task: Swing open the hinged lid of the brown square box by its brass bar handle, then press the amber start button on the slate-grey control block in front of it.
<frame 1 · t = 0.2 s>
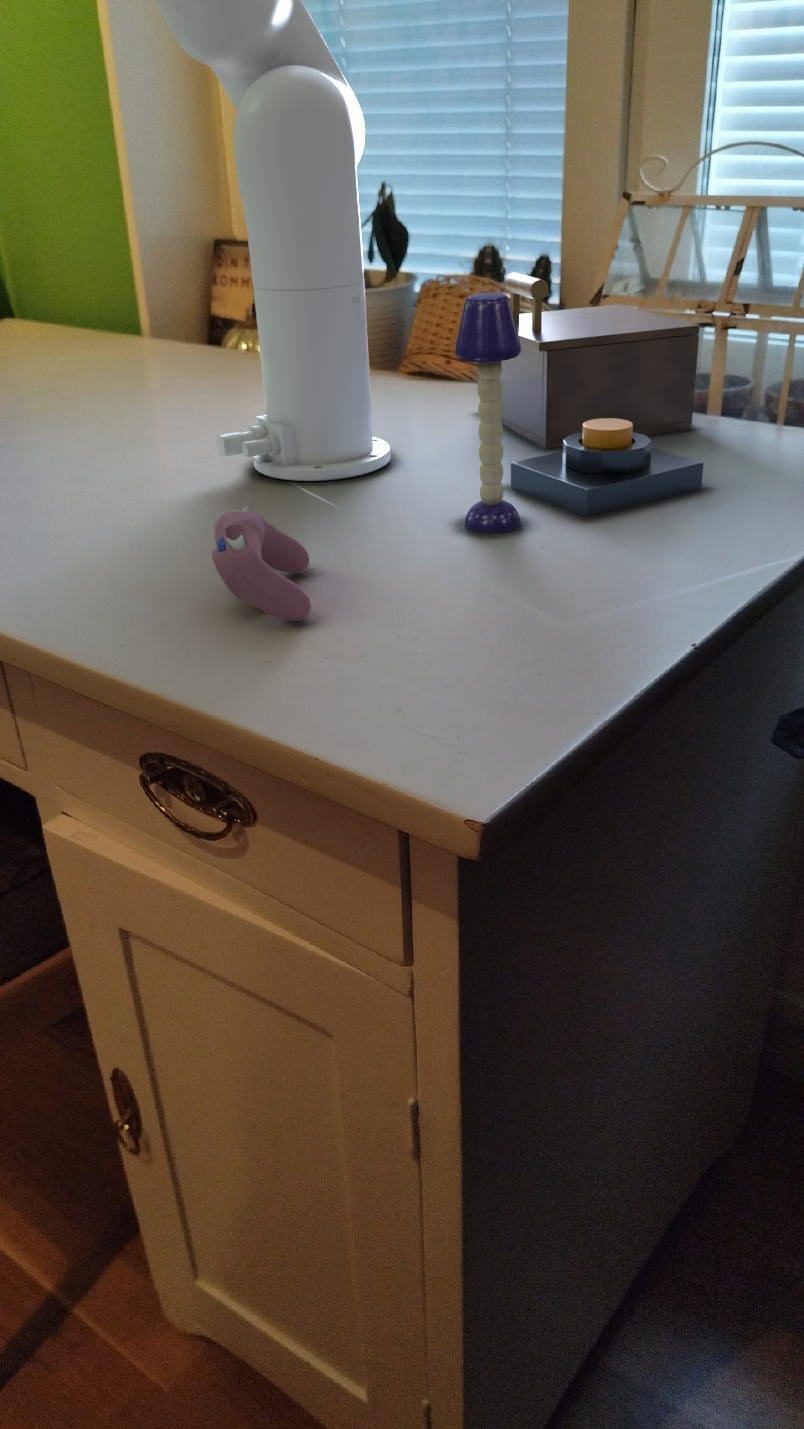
case lid: (583, 301, 106), point 12 cm above the table, hinge at 0.0°
toy lamp: (489, 528, 84), on the table
control block: (604, 488, 91), on the table
brown square box: (582, 421, 111), on the table
start button: (607, 434, 89), point 4 cm above the table, slide at 0.1 cm
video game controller: (267, 600, 73), on the table
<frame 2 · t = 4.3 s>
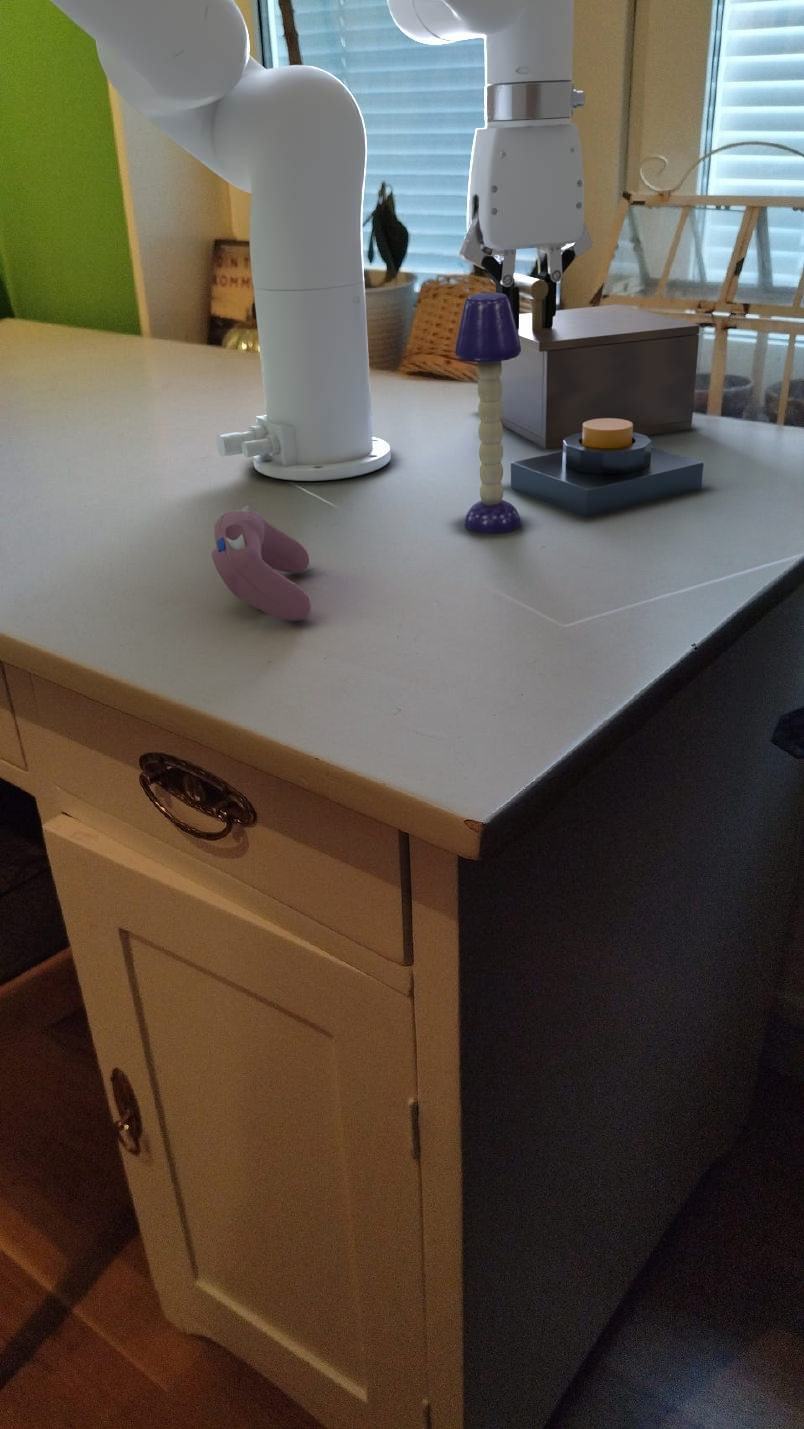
hand: (525, 325, 105), 10 cm above the table, tool pointing down, fingers closed
case lid: (582, 301, 106), point 12 cm above the table, hinge at -0.1°, touching gripper
everything else where it was.
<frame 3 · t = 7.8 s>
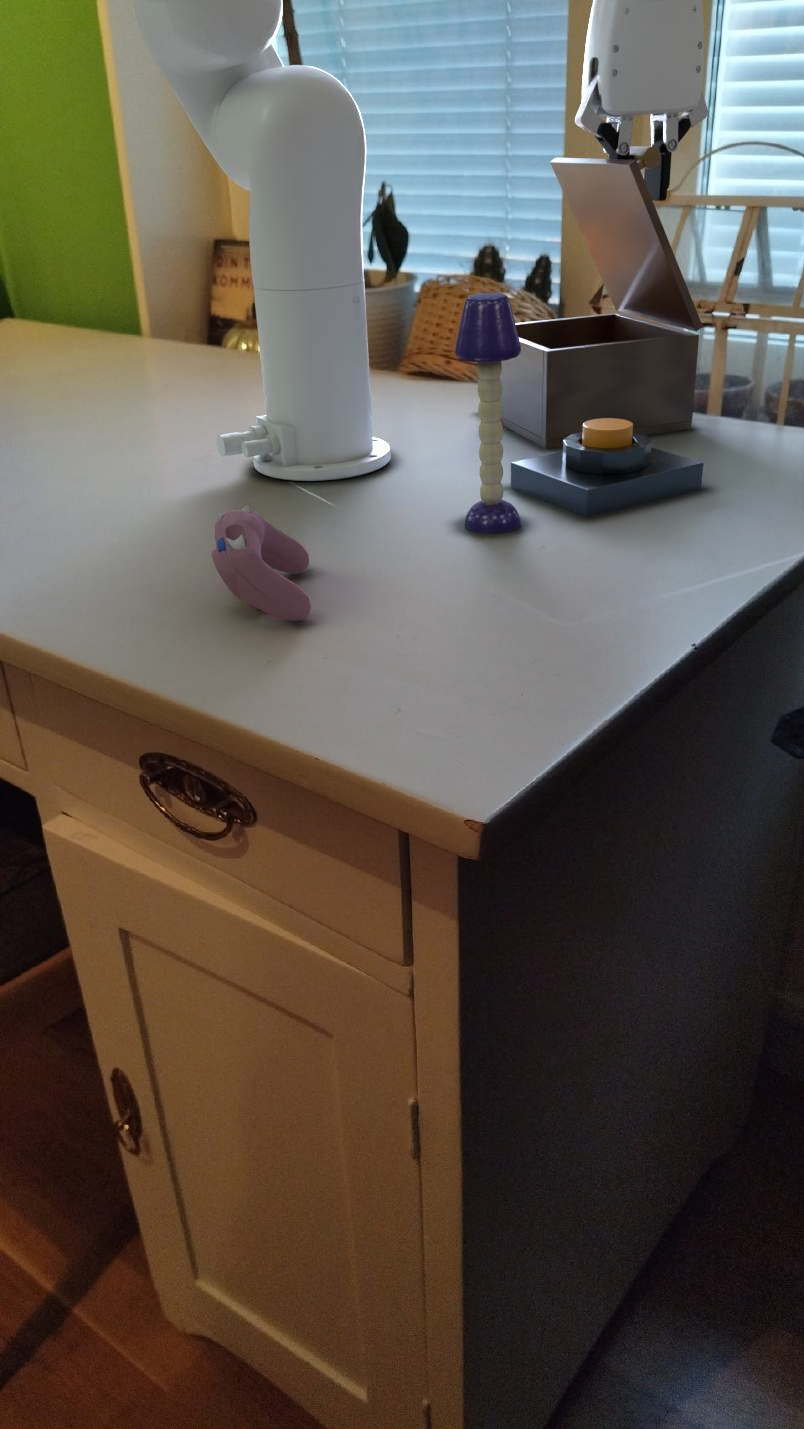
hand: (638, 199, 103), 20 cm above the table, tool pointing down, fingers closed
case lid: (644, 228, 105), point 18 cm above the table, hinge at 61.0°, touching gripper
everything else where it was.
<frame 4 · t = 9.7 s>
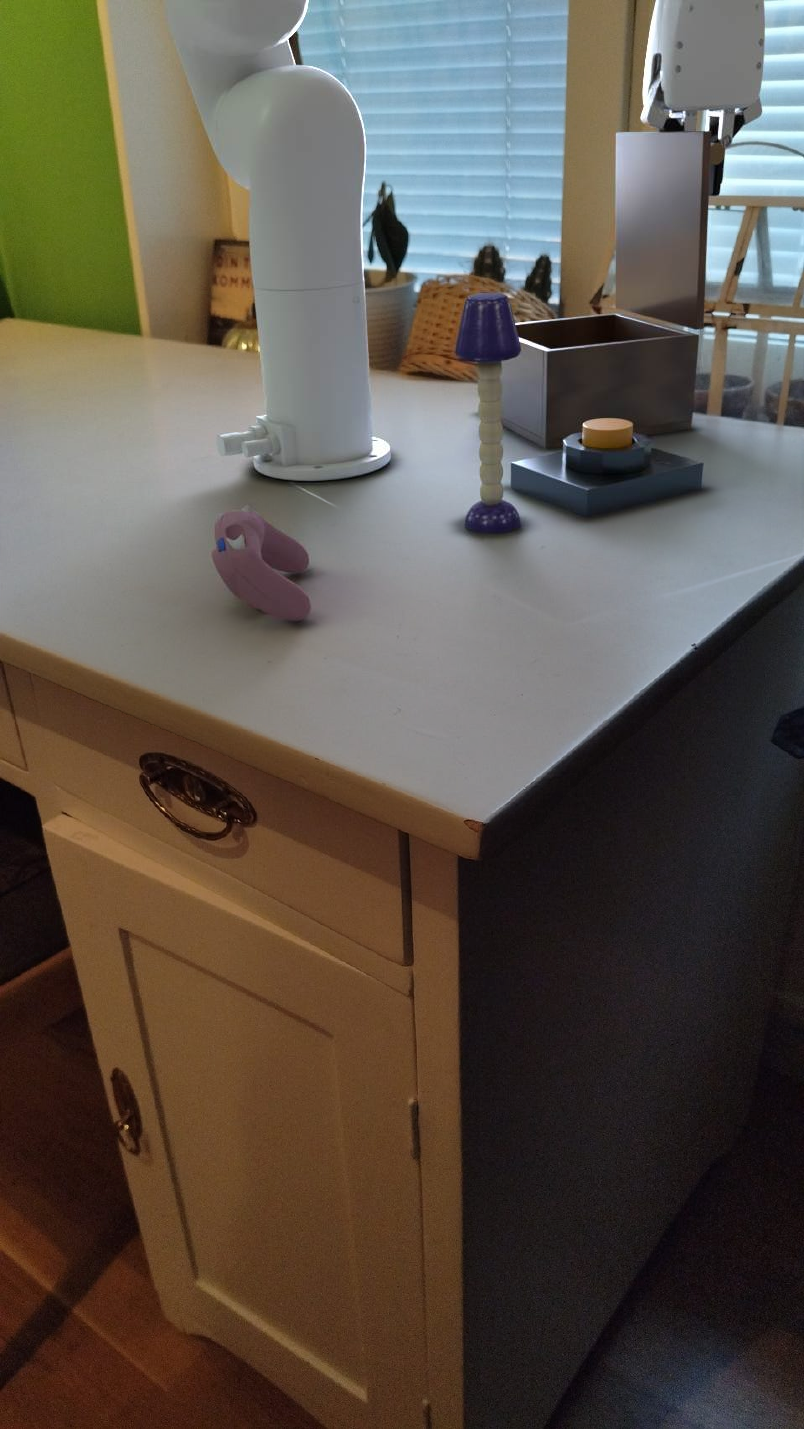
hand: (696, 194, 105), 20 cm above the table, tool pointing down, fingers closed, pressing on case lid
case lid: (679, 225, 106), point 18 cm above the table, hinge at 87.0°, touching gripper
everything else where it was.
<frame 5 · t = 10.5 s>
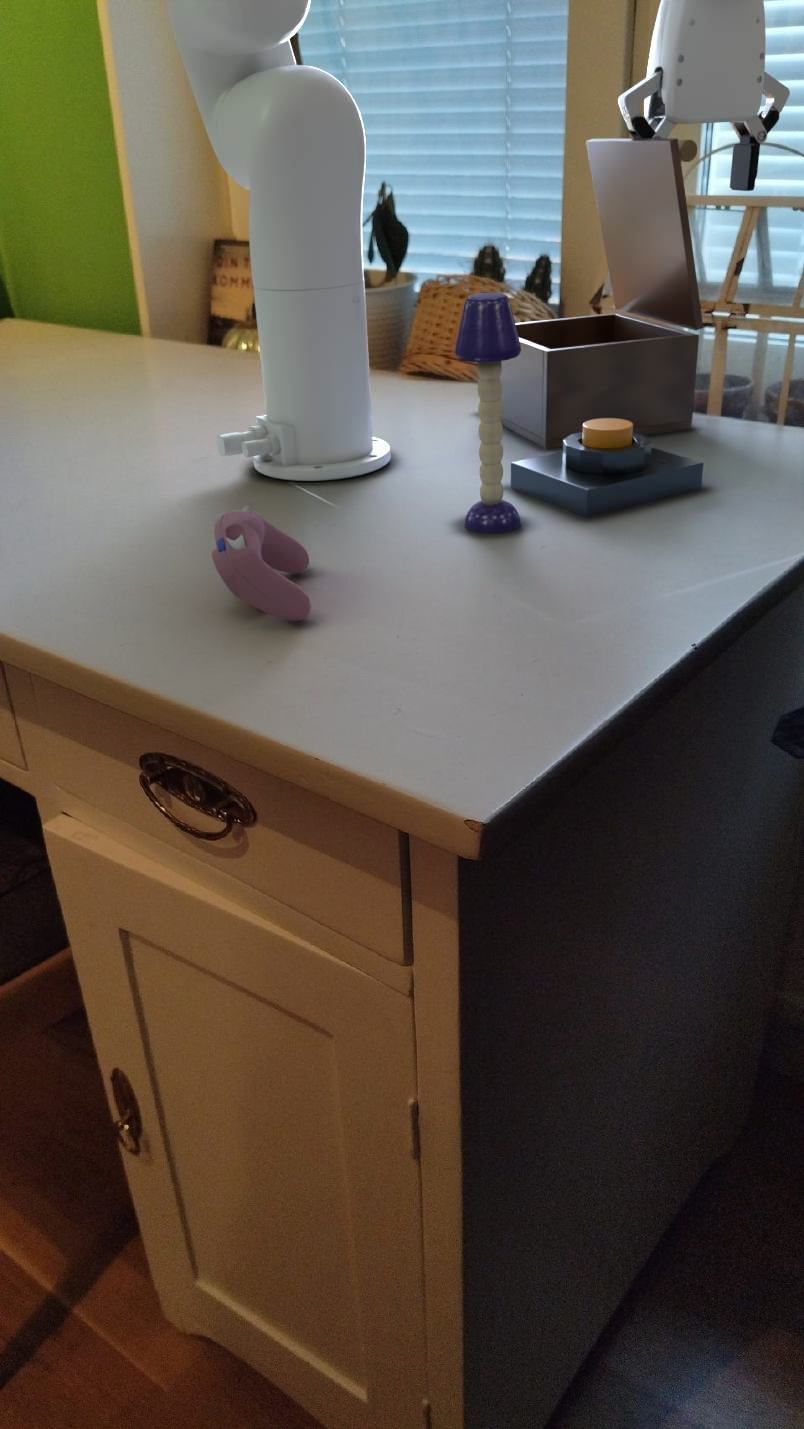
hand: (697, 193, 105), 20 cm above the table, tool pointing down, fingers open, 9 cm apart
case lid: (664, 224, 105), point 18 cm above the table, hinge at 75.5°
everything else where it was.
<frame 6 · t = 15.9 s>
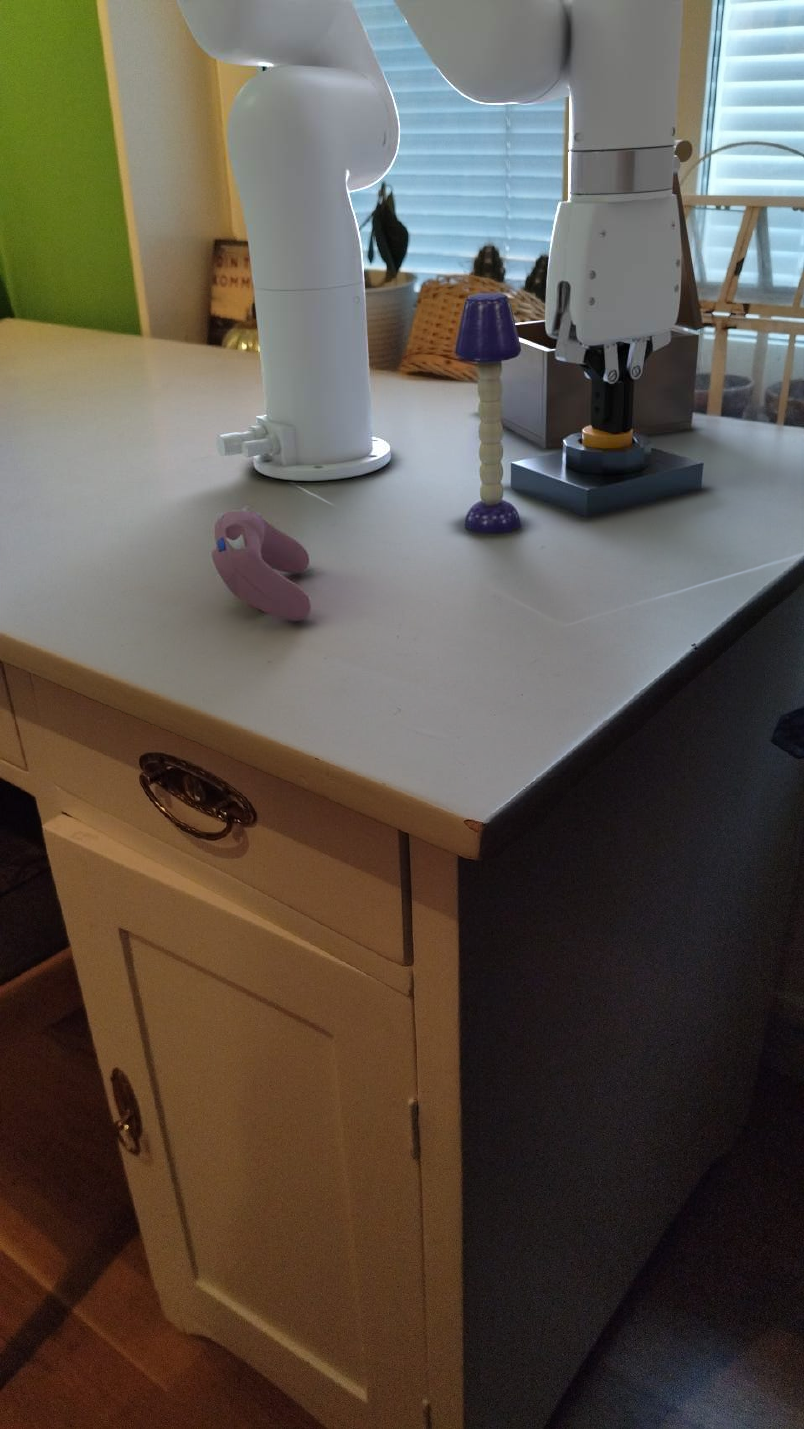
hand: (611, 429, 89), 5 cm above the table, tool pointing down, fingers closed
case lid: (661, 224, 105), point 18 cm above the table, hinge at 73.5°
start button: (607, 440, 89), point 4 cm above the table, slide at -0.4 cm, touching gripper
everything else where it was.
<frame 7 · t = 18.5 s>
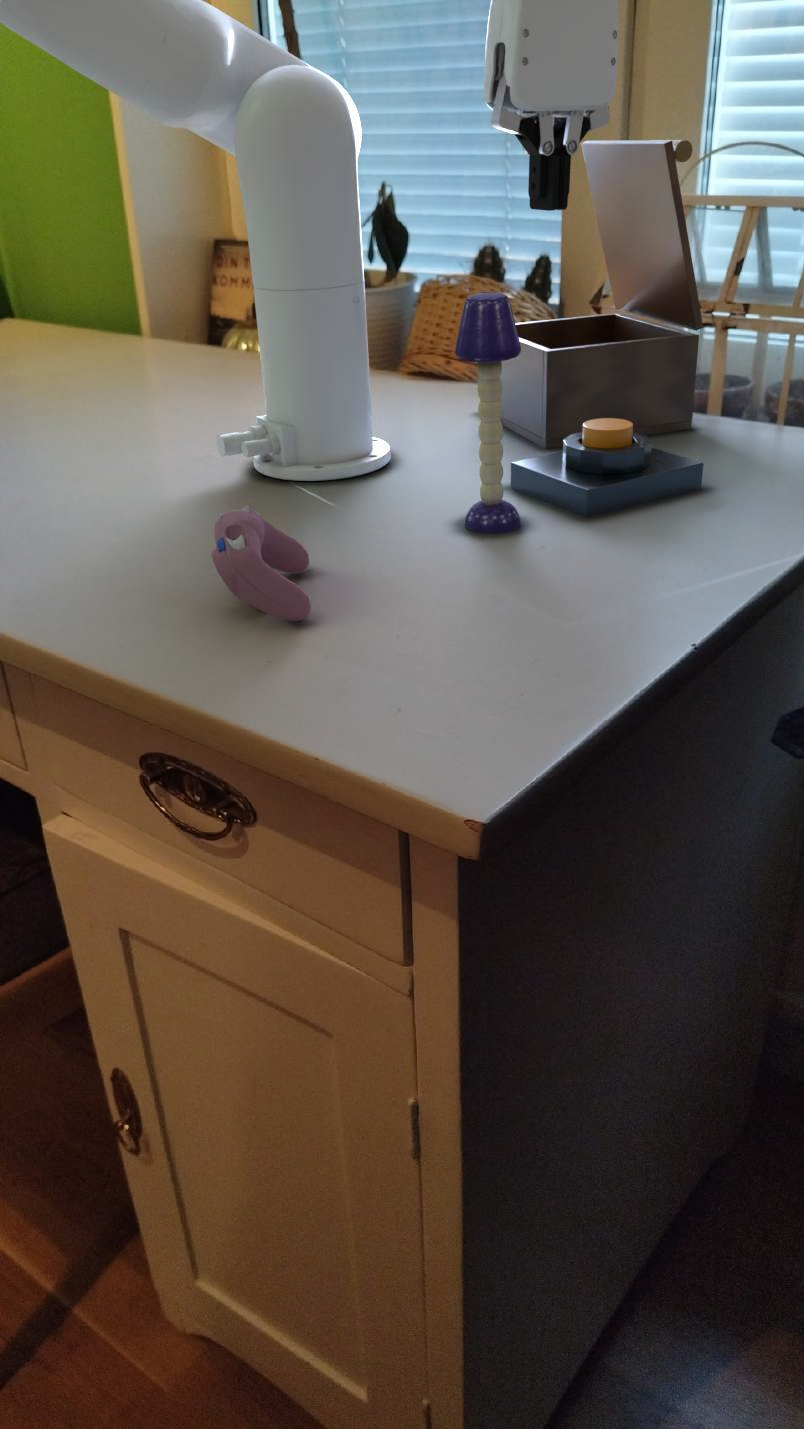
hand: (548, 208, 91), 21 cm above the table, tool pointing down, fingers closed
start button: (607, 434, 89), point 4 cm above the table, slide at 0.1 cm
everything else where it was.
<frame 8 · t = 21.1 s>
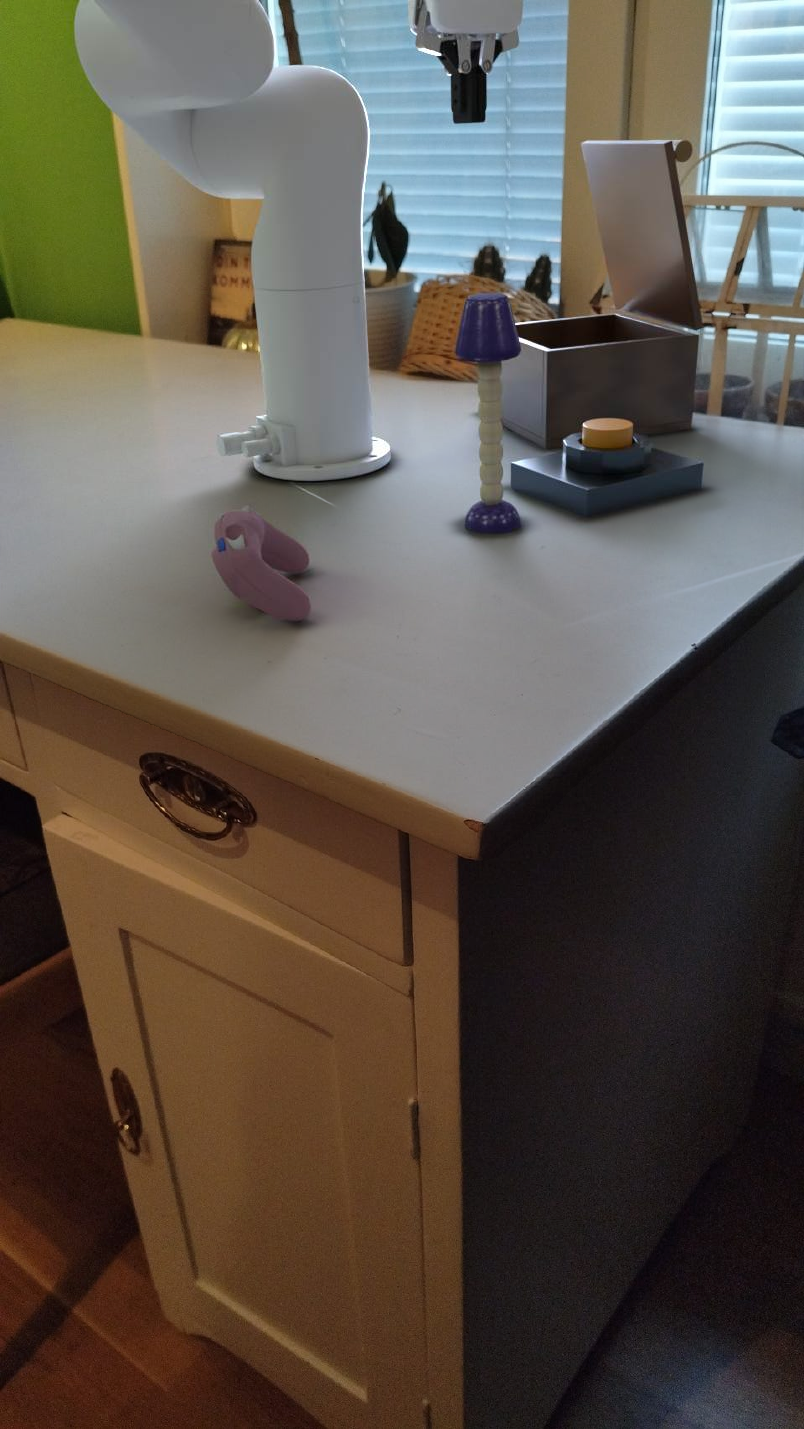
hand: (469, 122, 104), 27 cm above the table, tool pointing down, fingers closed
nothing on the table moved.
at the end: case lid at +74° (first picture: +0°); start button pushed in 1.1 cm at the most during the clip, back to where it started at the end; start button slide at 0.1 cm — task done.
